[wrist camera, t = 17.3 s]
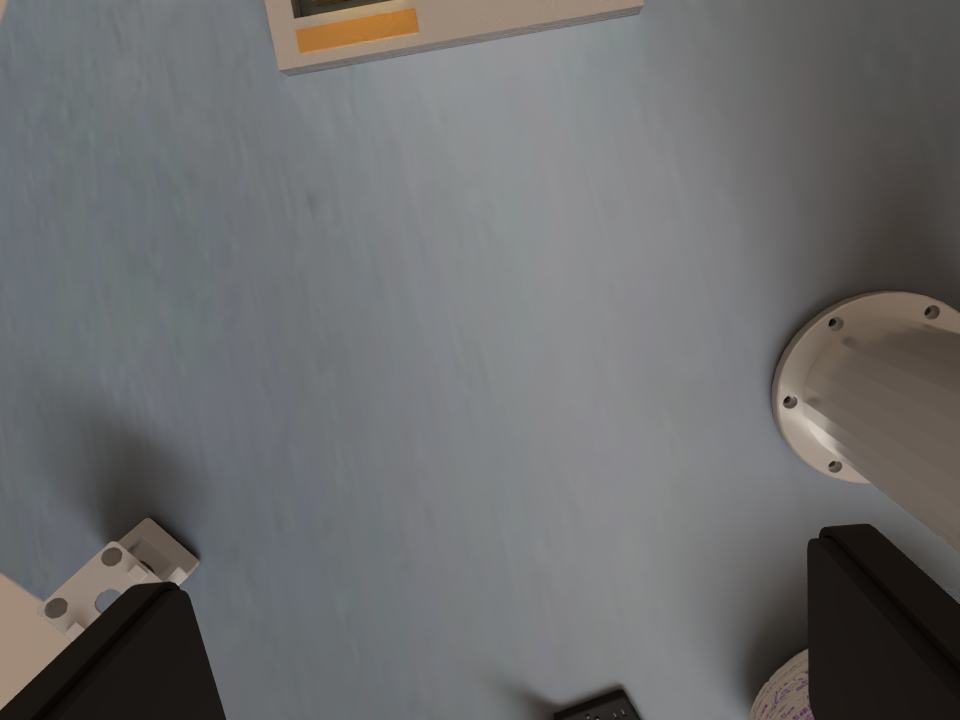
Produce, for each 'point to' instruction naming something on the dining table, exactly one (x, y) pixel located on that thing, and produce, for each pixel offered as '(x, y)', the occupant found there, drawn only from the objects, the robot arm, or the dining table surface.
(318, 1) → the brass block
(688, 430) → the dining table surface
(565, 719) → the handheld gaming console
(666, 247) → the dining table surface
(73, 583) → the mechanical component
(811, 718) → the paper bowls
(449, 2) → the white flat frame
